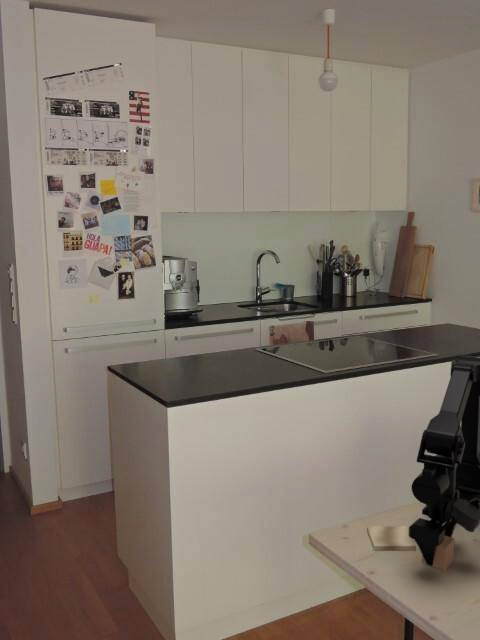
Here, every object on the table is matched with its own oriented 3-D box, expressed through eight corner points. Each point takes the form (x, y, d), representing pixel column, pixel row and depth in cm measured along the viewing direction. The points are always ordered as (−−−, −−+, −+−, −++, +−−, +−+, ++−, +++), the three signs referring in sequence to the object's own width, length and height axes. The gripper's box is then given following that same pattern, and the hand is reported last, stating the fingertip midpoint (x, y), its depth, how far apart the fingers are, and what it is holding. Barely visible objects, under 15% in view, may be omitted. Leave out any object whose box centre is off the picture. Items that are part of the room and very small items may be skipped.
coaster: (405, 530, 151) (406, 526, 150) (415, 550, 142) (415, 546, 142) (367, 530, 151) (367, 526, 151) (374, 550, 142) (374, 546, 142)
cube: (430, 553, 141) (431, 531, 140) (453, 560, 138) (454, 538, 137) (421, 563, 137) (422, 541, 136) (445, 570, 134) (446, 548, 133)
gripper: (465, 512, 122) (461, 588, 125) (494, 480, 137) (490, 548, 140) (408, 498, 129) (406, 570, 132) (442, 468, 144) (439, 534, 146)
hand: (437, 555), depth 137 cm, fingers open, 9 cm apart
